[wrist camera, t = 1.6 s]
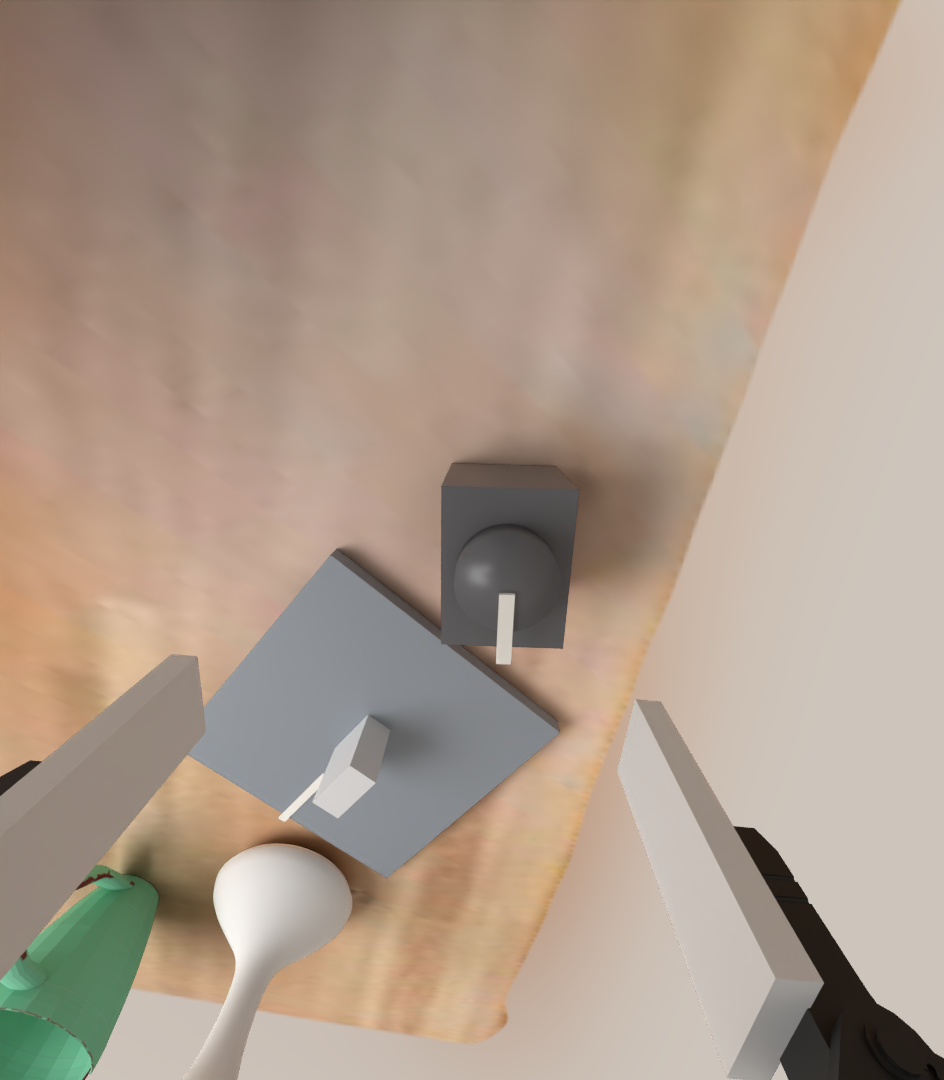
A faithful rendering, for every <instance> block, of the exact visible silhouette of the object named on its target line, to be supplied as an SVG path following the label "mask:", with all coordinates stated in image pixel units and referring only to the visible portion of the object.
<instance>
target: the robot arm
mask: <svg viewBox="0 0 944 1080" xmlns="http://www.w3.org/2000/svg"><path fill="white" fill-rule="evenodd" d="M205 732H206V726H205V717H204V709H203V700H202V691H201V682H200V674H199V665H198V657H196V656H186V655H175V654H171V655H170V656H169V657H168V658H167V659H165V660H164V661H163V662H162V663H161V664H159V665H158V666H157V667H156V668H154V669H153V670H152V671H151V672H150V673H148V674H147V675H146V676H145V677H144V678H142V679H141V680H140V681H139V682H138V683H136V684H135V685H134V686H133V687H132V688H130V689H129V690H128V691H127V692H126V693H124V694H123V695H122V696H121V697H119V698H118V699H117V700H116V701H115V702H113V703H112V704H111V705H110V706H109V707H107V708H106V709H105V710H104V711H103V712H101V713H100V714H99V715H98V716H97V717H95V718H94V719H93V720H92V721H91V722H89V723H88V724H87V725H86V726H85V727H83V728H82V729H81V730H80V731H78V732H77V733H76V734H75V735H74V736H72V737H71V738H70V739H69V740H68V741H66V742H65V743H64V744H63V745H62V746H60V747H59V748H58V749H57V750H56V751H54V752H53V753H52V754H51V755H50V756H48V757H47V758H46V759H45V760H43V761H31V760H30V761H29V762H27V763H25V764H23V765H21V766H19V767H17V768H16V769H14V770H12V771H10V772H8V773H6V774H5V775H3V776H1V777H0V981H1V979H2V978H3V977H4V976H5V975H6V973H7V972H8V971H9V970H10V969H11V967H12V966H13V965H14V964H15V962H16V961H17V960H18V959H19V958H20V956H21V955H22V954H23V953H24V952H25V950H26V949H27V948H28V947H29V946H30V944H31V943H32V942H33V941H34V939H35V938H36V937H37V936H38V935H39V933H40V932H41V931H42V930H43V929H44V927H45V926H46V925H47V924H48V923H49V921H50V920H51V919H52V918H53V916H54V915H55V914H56V913H57V912H58V910H59V909H60V908H61V907H62V906H63V904H64V903H65V902H66V901H67V900H68V898H69V897H70V896H71V895H72V893H73V892H74V891H75V890H76V889H77V887H78V886H79V885H80V884H81V883H82V881H83V880H84V879H85V878H86V877H87V875H88V874H89V873H90V872H91V870H92V869H93V868H94V867H95V866H96V864H97V863H98V862H99V861H100V860H101V858H102V857H103V856H104V855H105V854H106V852H107V851H108V850H109V849H110V847H111V846H112V845H113V844H114V843H115V841H116V840H117V839H118V838H119V837H120V835H121V834H122V833H123V832H124V831H125V829H126V828H127V827H128V826H129V824H130V823H131V822H132V821H133V820H134V818H135V817H136V816H137V815H138V814H139V812H140V811H141V810H142V809H143V807H144V806H145V805H146V804H147V803H148V801H149V800H150V799H151V798H152V797H153V795H154V794H155V793H156V792H157V791H158V789H159V788H160V787H161V786H162V784H163V783H164V782H165V781H166V780H167V778H168V777H169V776H170V775H171V774H172V772H173V771H174V770H175V769H176V768H177V766H178V765H179V764H180V763H181V761H182V760H183V759H184V758H185V757H186V755H187V754H188V753H189V752H190V751H191V749H192V748H193V747H194V746H195V745H196V743H197V742H198V741H199V740H200V738H201V737H202V736H203V735H204V734H205ZM617 772H618V775H619V777H620V780H621V783H622V786H623V789H624V791H625V794H626V797H627V800H628V803H629V805H630V808H631V811H632V814H633V817H634V820H635V822H636V825H637V828H638V831H639V833H640V836H641V839H642V842H643V844H644V847H645V850H646V853H647V856H648V859H649V862H650V865H651V867H652V870H653V873H654V876H655V879H656V881H657V884H658V886H659V890H660V893H661V895H662V898H663V901H664V904H665V907H666V909H667V912H668V915H669V918H670V921H671V923H672V926H673V929H674V932H675V935H676V937H677V940H678V943H679V946H680V949H681V952H682V954H683V957H684V960H685V963H686V965H687V968H688V971H689V974H690V977H691V979H692V982H693V985H694V988H695V991H696V993H697V996H698V999H699V1002H700V1005H701V1008H702V1010H703V1013H704V1016H705V1019H706V1022H707V1025H708V1027H709V1030H710V1033H711V1036H712V1038H713V1041H714V1044H715V1047H716V1050H717V1053H718V1055H719V1058H720V1061H721V1064H722V1067H723V1069H724V1072H725V1075H726V1077H727V1078H732V1079H743V1080H771V1079H772V1077H773V1075H774V1073H775V1072H776V1070H777V1068H778V1066H779V1064H780V1062H781V1063H782V1066H783V1068H784V1070H785V1073H786V1075H787V1077H788V1079H789V1080H944V1058H942V1057H940V1056H939V1055H937V1054H935V1053H934V1052H933V1051H932V1050H931V1049H930V1048H929V1046H928V1045H927V1044H926V1043H925V1042H924V1041H923V1040H922V1038H921V1037H920V1036H919V1035H918V1034H917V1033H916V1032H915V1031H914V1030H913V1029H912V1028H911V1027H910V1026H908V1025H907V1024H906V1023H905V1022H904V1021H903V1020H901V1019H900V1018H899V1017H898V1016H897V1015H895V1014H894V1013H893V1012H891V1011H889V1010H887V1009H885V1008H884V1007H882V1006H880V1005H878V1004H877V1003H876V1002H875V1000H874V999H873V998H872V996H871V995H870V994H869V992H868V991H867V990H866V988H865V986H864V985H863V983H862V982H861V980H860V979H859V977H858V976H857V974H856V973H855V971H854V969H853V968H852V966H851V965H850V963H849V962H848V960H847V959H846V957H845V955H844V954H843V952H842V951H841V949H840V948H839V946H838V944H837V943H836V941H835V940H834V938H833V937H832V936H831V934H830V932H829V931H828V929H827V927H826V926H825V924H824V923H823V922H822V920H821V918H820V917H819V915H818V914H817V912H816V910H815V909H814V907H813V906H812V904H809V902H808V898H807V896H806V895H805V893H804V892H803V890H802V889H801V887H800V886H799V884H798V882H795V881H794V876H793V875H792V873H791V872H790V870H789V869H788V867H787V865H786V864H785V862H784V861H783V859H782V858H781V856H780V855H779V853H778V851H777V850H776V849H775V848H774V847H773V846H772V845H771V844H770V843H768V841H767V840H766V839H765V838H764V837H763V836H762V835H761V834H759V833H758V832H757V830H755V829H754V828H746V827H735V826H733V825H732V823H731V822H730V820H729V818H728V816H727V815H726V813H725V812H724V810H723V808H722V806H721V804H720V803H719V801H718V799H717V798H716V796H715V794H714V792H713V791H712V789H711V787H710V785H709V784H708V782H707V780H706V779H705V777H704V775H703V773H702V772H701V770H700V768H699V766H698V765H697V763H696V761H695V760H694V758H693V756H692V754H691V753H690V751H689V749H688V747H687V746H686V744H685V742H684V741H683V739H682V737H681V735H680V734H679V732H678V730H677V728H676V727H675V725H674V723H673V722H672V720H671V718H670V716H669V715H668V713H667V711H666V710H665V708H664V706H663V704H662V703H661V702H658V701H648V700H635V704H634V708H633V712H632V716H631V720H630V723H629V727H628V731H627V735H626V739H625V743H624V747H623V751H622V755H621V759H620V763H619V766H618V771H617Z"/></svg>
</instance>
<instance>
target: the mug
mask: <svg viewBox="0 0 944 1080" xmlns="http://www.w3.org/2000/svg"><path fill="white" fill-rule="evenodd" d="M91 883H93V884H96V885H98V886H99V887H98V888H96V889H95V890H94V891H92V892H91V893H90V894H88V895H87V896H86V897H84V898H83V899H82V900H80V901H79V902H78V903H77V904H75V905H74V906H73V907H72V908H70V909H69V910H68V911H67V912H66V913H64V914H63V915H62V916H61V917H60V918H58V919H57V920H56V921H55V922H54V923H52V924H51V925H50V926H49V927H48V928H46V929H45V930H44V931H43V932H42V933H40V934H39V935H38V936H37V937H36V938H35V939H34V941H33V942H32V943H31V944H30V946H29V947H28V948H27V949H26V950H25V952H24V953H23V954H22V955H21V956H20V958H19V959H18V960H17V961H16V962H15V964H14V965H13V966H12V967H11V969H10V970H9V971H8V972H7V973H6V975H5V976H4V977H3V978H2V979H1V981H0V1080H85V1078H86V1077H87V1076H88V1074H91V1073H92V1071H93V1069H94V1068H95V1066H96V1064H97V1063H98V1061H99V1059H100V1057H101V1055H102V1053H103V1051H104V1049H105V1047H106V1045H107V1042H108V1040H109V1037H110V1035H111V1033H112V1031H113V1028H114V1026H115V1024H116V1022H117V1019H118V1017H119V1015H120V1012H121V1010H122V1007H123V1005H124V1003H125V1001H126V998H127V996H128V993H129V991H130V988H131V986H132V983H133V981H134V978H135V976H136V973H137V970H138V968H139V965H140V962H141V959H142V956H143V953H144V950H145V947H146V944H147V941H148V938H149V935H150V932H151V928H152V924H153V920H154V917H155V913H156V909H157V906H158V902H159V895H158V893H157V891H156V889H155V888H154V887H153V886H152V885H151V884H150V883H148V882H147V881H145V880H144V879H142V878H139V877H136V876H132V875H121V874H120V873H118V872H116V871H114V870H112V869H110V868H108V867H106V866H103V865H96V866H95V867H94V868H93V869H92V870H91V872H90V873H89V874H88V875H87V877H86V878H85V879H84V880H83V881H82V883H81V884H80V885H79V886H78V887H77V889H76V890H78V889H80V888H82V887H84V886H87V885H89V884H91Z"/></svg>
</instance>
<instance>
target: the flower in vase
mask: <svg viewBox="0 0 944 1080" xmlns="http://www.w3.org/2000/svg"><path fill="white" fill-rule="evenodd" d="M213 902H214V907H215V911H216V915H217V918H218V921H219V924H220V926H221V928H222V930H223V932H224V934H225V936H226V938H227V940H228V942H229V944H230V946H231V948H232V950H233V952H234V955H235V960H236V969H235V975H234V978H233V982H232V985H231V988H230V990H229V993H228V995H227V998H226V1001H225V1003H224V1005H223V1007H222V1010H221V1012H220V1014H219V1016H218V1018H217V1021H216V1023H215V1025H214V1027H213V1029H212V1031H211V1033H210V1035H209V1036H208V1038H207V1040H206V1042H205V1044H204V1046H203V1048H202V1050H201V1051H200V1053H199V1055H198V1056H197V1058H196V1059H195V1061H194V1063H193V1064H192V1066H191V1068H190V1069H189V1070H188V1072H187V1073H186V1075H185V1076H184V1077H183V1079H182V1080H237V1078H238V1073H239V1069H240V1064H241V1059H242V1055H243V1052H244V1048H245V1045H246V1041H247V1038H248V1034H249V1031H250V1028H251V1025H252V1022H253V1019H254V1016H255V1013H256V1010H257V1008H258V1005H259V1003H260V1000H261V998H262V996H263V993H264V991H265V989H266V988H267V986H268V984H269V982H270V980H271V979H272V978H273V977H274V975H275V974H276V973H277V972H278V971H280V970H281V969H282V968H284V967H285V966H287V965H289V964H291V963H293V962H295V961H298V960H300V959H302V958H304V957H306V956H308V955H310V954H311V953H313V952H315V951H317V950H319V949H320V948H322V947H323V946H324V945H326V944H327V943H328V942H330V941H331V940H332V939H334V938H335V937H336V936H337V935H338V934H339V933H340V931H341V930H342V928H343V927H344V925H345V924H346V922H347V921H348V919H349V917H350V914H351V911H352V895H351V892H350V889H349V885H348V882H347V880H346V878H345V877H344V875H343V874H342V872H341V871H340V870H339V869H338V868H337V867H336V866H335V865H334V864H333V863H332V862H331V861H330V860H328V859H327V858H325V857H324V856H322V855H320V854H318V853H316V852H314V851H312V850H309V849H307V848H303V847H300V846H296V845H290V844H281V843H271V844H262V845H258V846H254V847H251V848H248V849H246V850H244V851H242V852H241V853H239V854H237V855H236V856H234V857H233V858H231V859H230V860H229V861H227V862H226V863H225V864H224V865H223V867H222V868H221V869H220V871H219V873H218V875H217V878H216V881H215V887H214V893H213Z"/></svg>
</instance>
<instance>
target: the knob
mask: <svg viewBox="0 0 944 1080" xmlns="http://www.w3.org/2000/svg"><path fill="white" fill-rule="evenodd" d="M578 496H579V489H578V488H577V487H576V486H575V485H574V484H573V483H572V482H571V481H570V480H569V479H568V478H567V477H566V476H565V475H564V474H563V473H562V472H561V471H560V470H559V469H558V468H557V467H556V466H540V465H505V464H470V463H452V464H451V466H450V469H449V471H448V473H447V475H446V477H445V479H444V481H443V484H442V506H441V644H446V645H474V646H497V647H496V664H511V652H512V647H531V648H560V649H563V642H564V632H565V623H566V613H567V603H568V593H569V584H570V574H571V564H572V554H573V545H574V535H575V525H576V515H577V506H578Z"/></svg>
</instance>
